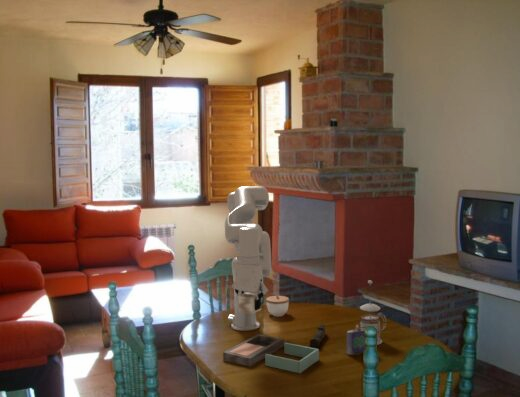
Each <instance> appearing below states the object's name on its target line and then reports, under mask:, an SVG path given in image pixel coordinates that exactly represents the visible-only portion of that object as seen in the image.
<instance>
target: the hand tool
mask: <svg viewBox="0 0 520 397" xmlns="http://www.w3.org/2000/svg"><path fill="white" fill-rule="evenodd" d="M325 327H326V326H325V324H320V325H319V326H318V327H317V331H316V332H315V334H314V336H313V337H312V338H311V339H310V340H309V346H308V347H310V348H315V349H319V347H320V344H321V342H322V340H323V339H324V338H325V336H326V334H325V333H326V328H325Z"/></svg>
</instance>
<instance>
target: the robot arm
mask: <svg viewBox="0 0 520 397" xmlns="http://www.w3.org/2000/svg"><path fill="white" fill-rule="evenodd" d="M226 202H227V208H228V210H229V213H228V215H227V216H226V218H225V220H224V221H225V222H224V238H225V240H226V242H227V243H229V244H232V245H234V249H235V251H236V252H237V253H238V255H237V256H236V257H234V258H233V259H232V261H231V271H232V278H233V283H232V284H231V288H232V289H233V299H234V301H233V302H234V304H233V305H234V307H233V308H234V314H232V313H231V314H229V315H228V317H227V320H228V321H232V323H231V325H230V327H231V329H233V330H236V331H241V332H242V331H243V332H244V331H245V332H246V331H247V332H248V331H255V330H257V329H258V328H260V322H259V321H257V312H256V313H254V314H249V313H243V312H239V295H242V294H244V293H246V292H250V293H254V295H255V298H256V299H255V310H258V309H260V308H261V309H262V298H263V297H264V296H265V295H266V294H267V293H268V292H269V289H268V287H267V286H266V285H265V283H264V278H266V277H269V276H271V274H272V267H273V266H272V265H273V264H272V249H271V238H270V234H269V233H268V232H267V231H265V230H264V231H263V228H262V226H261V225H260V224H258V223H254V222H253V219H254V217H255V216H256V215H257V211H264V210H265V209H266V208H267V207H268V204H269V202H270V195H269V191H268V189H267V187H265V186H263V185H258V186H257V185H256V186H255V185H250V186H249V185H246V186H245V185H244V186H240V187H237V189H235V191H233V192H230V193H229V194H228V195H227V198H226Z"/></svg>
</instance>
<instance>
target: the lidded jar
mask: <svg viewBox="0 0 520 397" xmlns="http://www.w3.org/2000/svg"><path fill="white" fill-rule="evenodd" d="M265 301H266V308H267V310H268V313H270V315H271V316H272V315H273V316H272V317H283V316H284V315H285V314H286V313H287V312H288V309H289V302H290V299H289V297H288V296H285V295H279V294H277V295H272V296H267V297H266V298H265Z"/></svg>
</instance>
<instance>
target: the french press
mask: <svg viewBox="0 0 520 397" xmlns="http://www.w3.org/2000/svg"><path fill="white" fill-rule="evenodd" d="M367 284H369V285H372V284H373V281H372V280H371V279H369V280H367ZM359 309H360V310H361V311H364V312H368V313H371V312H372V313H373V312H378V311H380V310H381V307H380V306H378V304H376V303H371V302H369V303H365V304H362V305H361V306H359ZM381 315H382V316H381ZM380 317H381V318H382V320H383V321H387V318H386V316H385V315H384V314H383V313H382V312H379V313H377V315H373V314H365V315H361V317H360V318H361V320H360V328H368V327H367V326H374V327H375V328H376V329H377V331H378V333H377V345H381V344H383V340H382V339H381V331H383V330H385V329H386V326H387V324H384V325H383V326H382V328H381V321H380V320H379V319H380ZM377 345H376V346H377Z"/></svg>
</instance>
